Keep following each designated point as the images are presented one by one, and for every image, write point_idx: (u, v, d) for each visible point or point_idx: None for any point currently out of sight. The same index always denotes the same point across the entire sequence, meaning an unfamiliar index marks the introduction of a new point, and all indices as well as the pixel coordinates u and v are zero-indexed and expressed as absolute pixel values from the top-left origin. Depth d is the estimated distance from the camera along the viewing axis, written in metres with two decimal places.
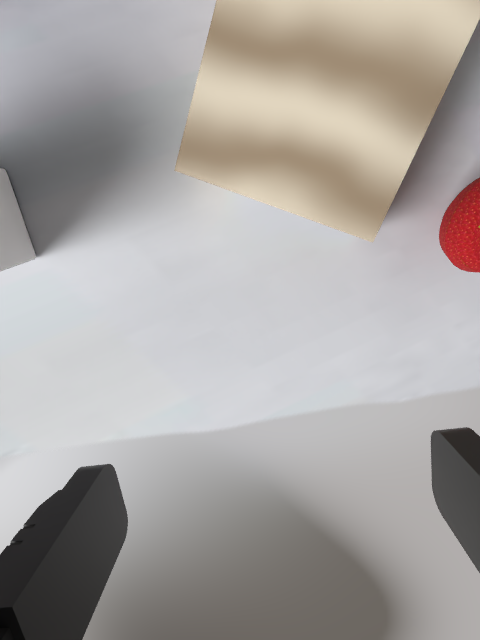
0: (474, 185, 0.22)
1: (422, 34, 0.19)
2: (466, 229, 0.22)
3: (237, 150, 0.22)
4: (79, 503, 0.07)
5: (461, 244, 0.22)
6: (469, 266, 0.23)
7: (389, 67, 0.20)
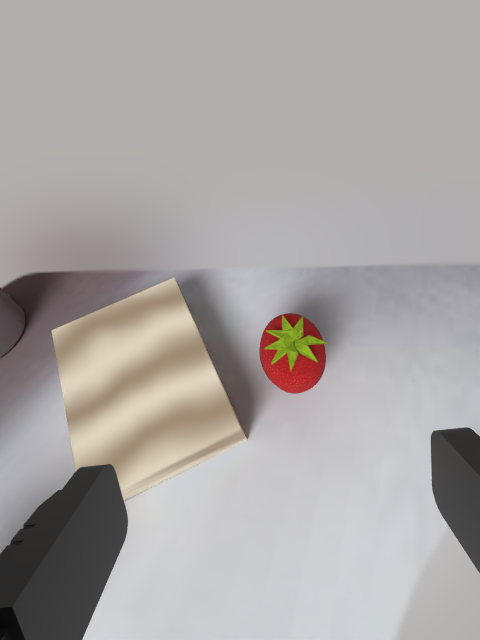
0: None
1: (170, 335, 0.35)
2: (273, 371, 0.30)
3: (115, 457, 0.29)
4: (79, 503, 0.07)
5: (281, 379, 0.29)
6: (301, 383, 0.29)
7: (167, 355, 0.34)
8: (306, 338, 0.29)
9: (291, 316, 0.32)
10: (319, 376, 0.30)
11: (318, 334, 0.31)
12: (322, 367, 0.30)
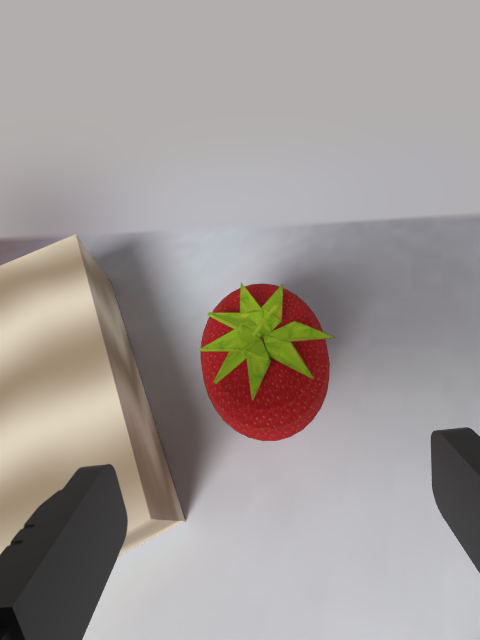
0: None
1: (51, 328, 0.19)
2: (220, 397, 0.14)
3: None
4: (79, 503, 0.07)
5: (236, 415, 0.14)
6: (278, 424, 0.14)
7: (36, 365, 0.18)
8: (288, 327, 0.14)
9: (261, 287, 0.16)
10: (317, 407, 0.14)
11: (314, 321, 0.15)
12: (323, 388, 0.14)
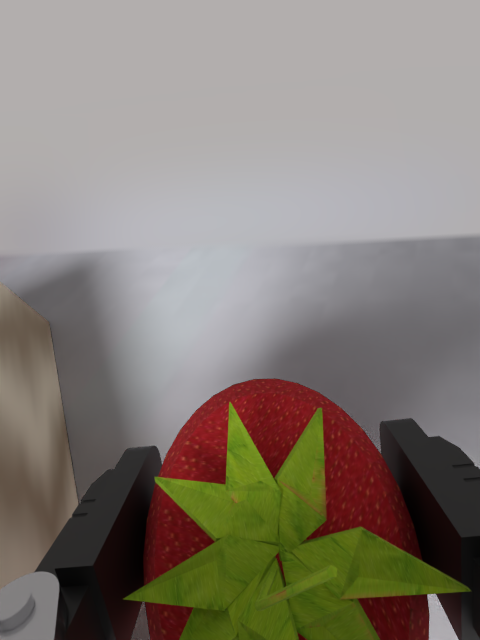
0: None
1: None
2: None
3: None
4: (134, 479, 0.08)
5: None
6: None
7: None
8: (345, 548, 0.05)
9: (273, 397, 0.08)
10: None
11: (389, 485, 0.07)
12: None
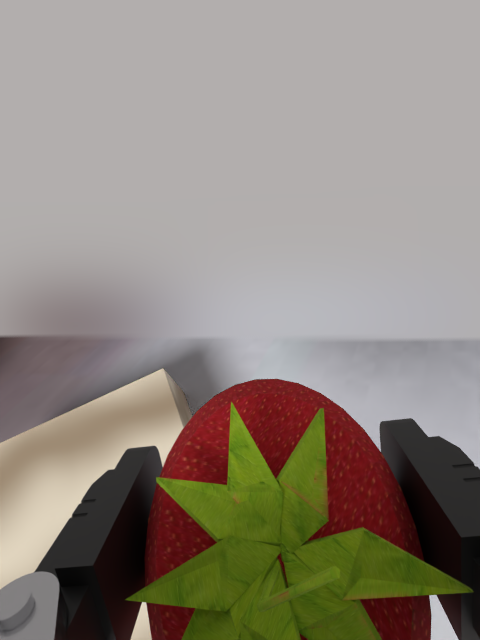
0: None
1: None
2: None
3: None
4: (134, 479, 0.08)
5: None
6: None
7: None
8: (347, 549, 0.05)
9: (275, 397, 0.08)
10: None
11: (391, 486, 0.07)
12: None
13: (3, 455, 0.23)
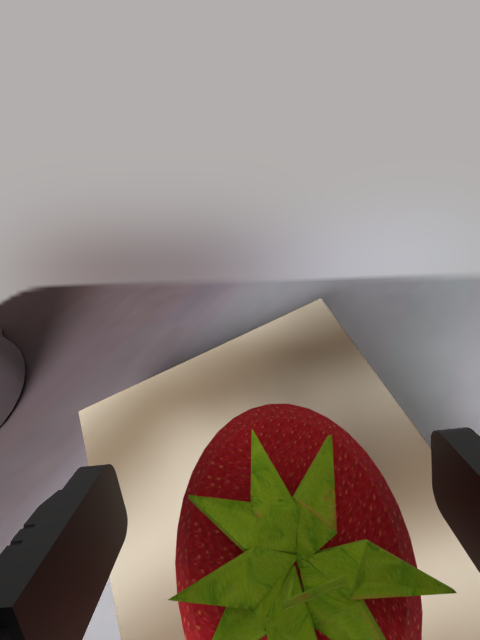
0: None
1: (349, 432, 0.15)
2: None
3: None
4: (79, 503, 0.07)
5: None
6: None
7: None
8: (353, 557, 0.07)
9: (287, 422, 0.09)
10: None
11: (389, 501, 0.08)
12: None
13: (125, 408, 0.17)
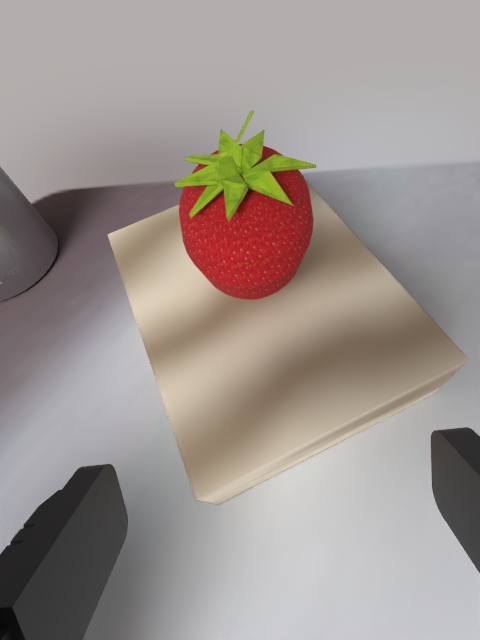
0: None
1: None
2: (197, 238, 0.14)
3: (245, 414, 0.17)
4: (79, 503, 0.07)
5: (212, 253, 0.13)
6: (256, 259, 0.13)
7: None
8: (268, 160, 0.13)
9: None
10: (298, 250, 0.14)
11: (297, 171, 0.15)
12: (305, 230, 0.14)
13: (141, 230, 0.24)
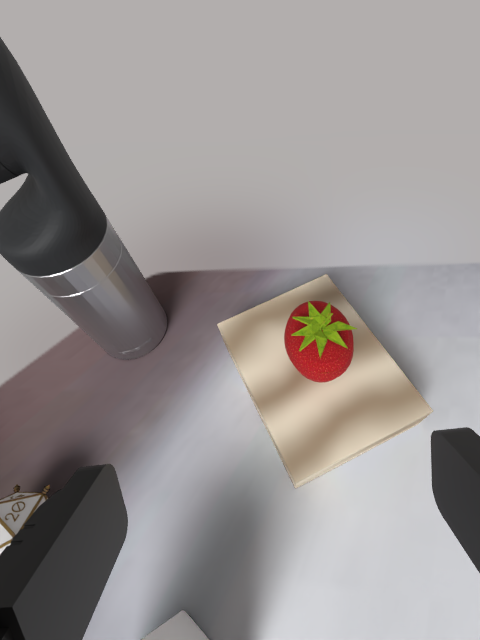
0: (284, 342, 0.31)
1: None
2: (300, 358, 0.29)
3: (316, 439, 0.32)
4: (79, 503, 0.07)
5: (309, 367, 0.28)
6: (330, 371, 0.28)
7: None
8: (335, 324, 0.28)
9: (317, 303, 0.31)
10: (348, 364, 0.29)
11: (346, 321, 0.30)
12: (351, 354, 0.29)
13: (239, 322, 0.39)
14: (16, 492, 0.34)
